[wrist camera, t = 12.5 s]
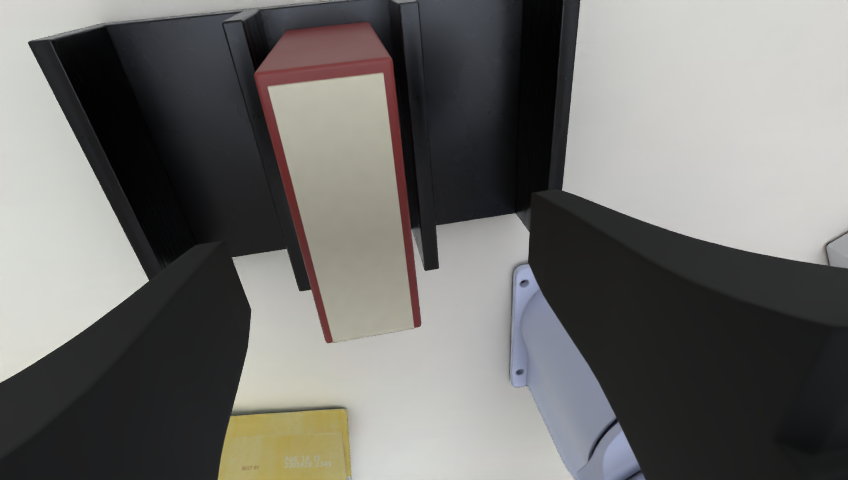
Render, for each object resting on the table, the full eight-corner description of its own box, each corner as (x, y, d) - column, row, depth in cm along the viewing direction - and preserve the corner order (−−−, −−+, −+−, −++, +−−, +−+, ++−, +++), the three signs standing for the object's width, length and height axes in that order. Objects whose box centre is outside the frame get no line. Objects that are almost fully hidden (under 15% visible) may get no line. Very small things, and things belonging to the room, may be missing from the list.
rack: (519, 202, 22) (557, 249, 19) (195, 252, 21) (165, 314, 17) (528, -20, 17) (582, -16, 13) (99, 23, 16) (26, 41, 12)
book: (394, 215, 20) (422, 329, 14) (328, 225, 20) (325, 347, 14) (369, 21, 16) (393, 58, 10) (284, 30, 16) (251, 73, 9)
